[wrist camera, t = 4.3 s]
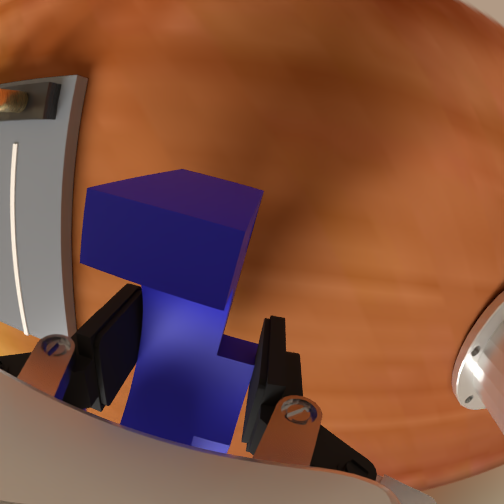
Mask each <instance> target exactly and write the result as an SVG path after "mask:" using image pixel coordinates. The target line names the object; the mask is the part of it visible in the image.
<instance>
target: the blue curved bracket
mask: <svg viewBox="0 0 504 504" xmlns="http://www.w3.org/2000/svg"><path fill="white" fill-rule="evenodd" d="M263 192H264V191H263V190H259V189H256V188H252V187H249V186H245V185H242V184H238V183H234V182H231V181H227V180H223V179H219V178H216V177H212V176H208V175H204V174H200V173H196V172H192V171H188V170H184V169H180V170H174V171H168V172H162V173H157V174H152V175H146V176H141V177H136V178H131V179H126V180H121V181H117V182H112V183H107V184H103V185H98V186H94V187H90V188H87V194H86V202H85V210H84V219H83V228H82V240H81V254H80V263H82V264H85V265H87V266H90V267H93V268H95V269H98V270H101V271H103V272H106V273H109V274H112V275H115V276H117V277H120V278H123V279H126V280H129V281H132V282H134V283H137V284H140V285H141V287H142V295H143V319H142V331H141V339H140V346H139V352H138V358H137V363H136V368H135V372H134V377H133V381H132V385H131V389H130V393H129V396H128V400H127V403H126V407H125V410H124V413H123V417H122V420H121V423H120V425H123V426H126V427H129V428H132V429H135V430H138V431H141V432H144V433H147V434H150V435H153V436H157V437H160V438H164V439H167V440H171V441H174V442H178V443H182V444H186V445H190V446H194V447H198V448H202V449H206V450H211V451H215V452H220V453H225V454H226V453H227V451H228V449H229V447H230V444H231V440H232V437H233V433H234V430H235V426H236V423H237V420H238V417H239V413H240V410H241V407H242V404H243V401H244V398H245V395H246V392H247V389H248V386H249V383H250V380H251V377H252V373H253V369H254V365H255V357H256V352H257V348H258V344H256V343H252V342H249V341H245V340H242V339H238V338H234V337H231V336H228V335H224V334H223V333H224V330H225V326H226V323H227V319H228V315H229V312H230V308H231V305H232V301H233V298H234V294H235V291H236V287H237V283H238V280H239V276H240V273H241V269H242V266H243V262H244V259H245V255H246V252H247V248H248V245H249V241H250V238H251V234H252V231H253V227H254V224H255V220H256V217H257V213H258V210H259V206H260V203H261V199H262V196H263Z"/></svg>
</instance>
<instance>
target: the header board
mask: <svg viewBox="0 0 504 504" xmlns="http://www.w3.org/2000/svg"><path fill="white" fill-rule="evenodd" d="M41 82H53V83H57V84H62V85H61V90H60V95H59V101H58V106H57V112H56V119H55V120H21V121H2V122H0V321H1V322H3V323H5V324H7V325H10V326H12V327H14V328H16V329H19V330H21V331H23V332H24V334H26V335H28V336H29V334H30V335H33V336H35V337H38V338H40V339H42V338H43V337H45V336H48V335H51V334H62V335H65V336H68V337H69V338H71V337H72V336H73V335H74V334H75V333H76V332H77V327H76V318H75V307H74V295H73V279H72V248H71V228H72V197H73V181H74V169H75V159H76V150H77V141H78V134H79V127H80V120H81V114H82V108H83V102H84V97H85V92H86V87H87V82H88V78H85V77H82V76H79V75H69V76H57V77H47V78H38V79H31V80H23V81H17V82H11V83H5V84H0V88H4V87H10V86H17V85H24V84H32V83H41Z"/></svg>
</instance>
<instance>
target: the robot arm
mask: <svg viewBox="0 0 504 504" xmlns="http://www.w3.org/2000/svg"><path fill="white" fill-rule="evenodd" d="M142 319H143V295H142V288H141V287H140V286H136V285H132V284H126V285H125V286H124V287H123V288H122V289H121V290H120V291H119V292H118V293H117V294H116V295H114V296H113V297H112V298H111V299H110V300H109V301H108V302H107V303H106V304H105V305H104V306H103V307H102V308H101V309H99V310H98V311H97V312H96V313H95V314H94V315H93V316H92V317H91V318H90V319H89V320H88V321H87V322H86V323H85V324H84V325H83V326H82V327H81V328H80V329H79V330H78V331H77V332H76V333H75V334H74V335H73V336H72V337H71V338H69V337H68V336H65V335H62V334H51V335H48V336H45V337H43V338H42V339H40V341H39V342H38V343H37V345H36V346H35V348H34V350H33V351H32V352H30V353H23V354H15V355H8V356H0V504H437V503H436V502H435V500H434V499H433V498H432V497H430V496H429V495H426V494H424V493H422V492H420V491H418V490H416V489H414V488H411V487H409V486H407V485H405V484H403V483H401V482H399V481H397V480H395V479H393V478H391V477H389V476H387V475H384V476H383V477H381V476H379V475H377V473H376V469H375V467H374V465H373V464H372V463H371V462H370V461H369V460H368V459H367V458H365V457H364V456H362V455H361V454H360V453H358V452H357V451H355V450H354V449H353V448H351V447H350V446H348V445H347V444H346V443H344V442H343V441H342V440H340V439H339V438H338V437H336V436H335V435H334V434H332V433H331V432H330V431H328V430H327V429H326V428H324V427H323V426H322V425H320V424H321V420H322V412H321V409H320V407H319V406H318V405H317V404H316V403H315V402H314V401H312V400H311V399H308V398H306V397H303V390H302V376H301V363H300V354H298V353H292V352H286V333H285V318H282V317H276V316H271V317H270V319H267V318H265V319H264V323H263V327H262V331H261V336H260V340H259V344H258V348H257V352H256V357H255V365H254V369H253V373H252V377H251V380H250V384H249V391H248V399H247V406H246V413H245V420H244V427H243V434H242V442H244V443H247V448H246V451H247V452H250V453H251V454H252V455H253V458H247V457H241V456H236V455H230V454H225V453H220V452H215V451H211V450H206V449H202V448H198V447H194V446H190V445H186V444H182V443H178V442H174V441H171V440H167V439H164V438H160V437H157V436H153V435H150V434H147V433H144V432H141V431H138V430H135V429H132V428H129V427H126V426H123V425H120V424H118V423H115V422H112V421H109V420H107V419H104V418H102V417H99V416H97V415H94V414H92V413H89V412H87V408H93V409H95V410H98V411H100V412H102V410H103V408H104V407H105V405H107V406H109V405H110V404H111V403H112V401H113V399H114V398H115V396H116V394H117V393H118V391H119V390H120V388H121V386H122V385H123V383H124V382H125V380H126V378H127V377H128V375H129V374H130V372H131V370H132V369H133V367H134V366H135V364H136V362H137V358H138V352H139V346H140V339H141V331H142ZM452 388H453V392H454V394H455V396H456V398H457V399H458V401H459V402H460V404H461V405H462V406H464V407H466V408H468V409H474V410H478V409H484V408H487V410H488V411H489V413H490V414H491V416H492V417H493V419H494V420H495V422H496V423H497V425H498V426H499V428H500V430H501V431H502V433H503V434H504V291H503V292H502V293H501V294H499V295H498V296H497V297H496V299H495V300H494V301H493V302H492V303H491V304H490V305H489V306H488V307H487V308H486V310H485V311H484V312H483V314H482V315H481V316H480V317H479V319H478V320H477V322H476V323H475V325H474V326H473V328H472V329H471V331H470V332H469V334H468V336H467V338H466V340H465V342H464V343H463V345H462V347H461V350H460V352H459V355H458V357H457V359H456V362H455V366H454V370H453V374H452Z"/></svg>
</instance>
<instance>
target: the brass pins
mask: <svg viewBox="0 0 504 504" xmlns="http://www.w3.org/2000/svg"><path fill="white" fill-rule="evenodd" d="M61 85H62V84H57V83H53V82H41V83H32V84H24V85H17V86H10V87H4V88H0V122H2V121H21V120H55V119H56V112H57V106H58V101H59V95H60V90H61Z"/></svg>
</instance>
